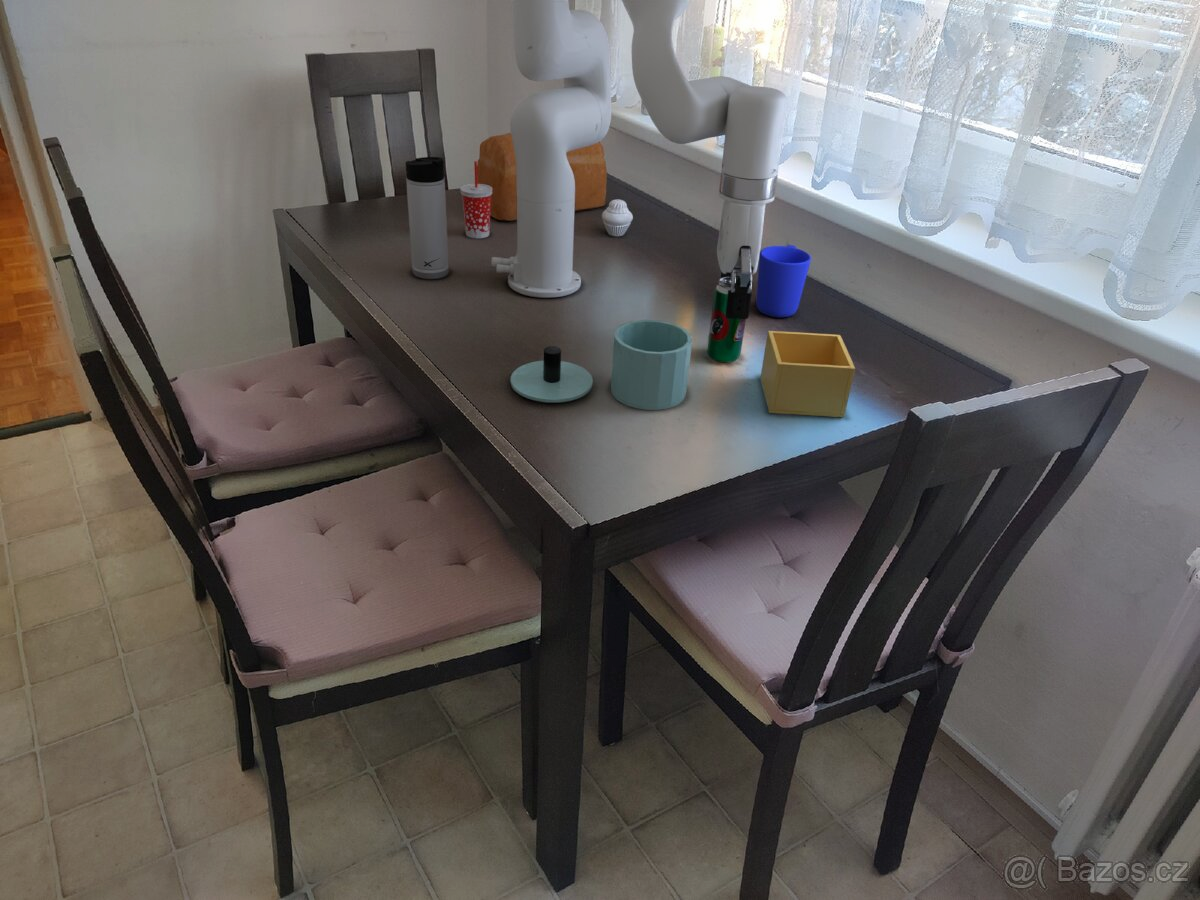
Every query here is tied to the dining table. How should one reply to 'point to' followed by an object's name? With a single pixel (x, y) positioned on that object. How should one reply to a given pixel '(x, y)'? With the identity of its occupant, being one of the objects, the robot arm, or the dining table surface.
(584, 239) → the dining table surface
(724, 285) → the soda can
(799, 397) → the bin
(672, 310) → the dining table surface
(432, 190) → the travel mug
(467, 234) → the beverage cup
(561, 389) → the pot lid
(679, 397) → the pot
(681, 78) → the robot arm
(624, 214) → the muffin
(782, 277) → the mug
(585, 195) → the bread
